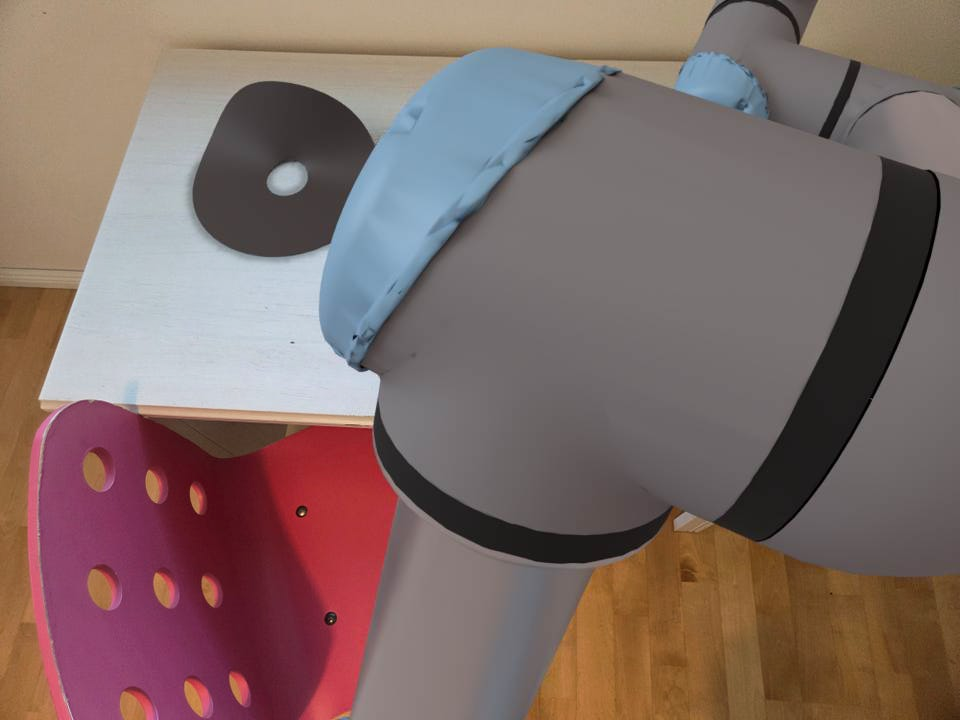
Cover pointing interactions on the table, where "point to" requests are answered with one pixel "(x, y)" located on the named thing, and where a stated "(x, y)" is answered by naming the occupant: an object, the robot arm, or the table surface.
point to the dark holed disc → (263, 144)
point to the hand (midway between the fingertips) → (677, 237)
